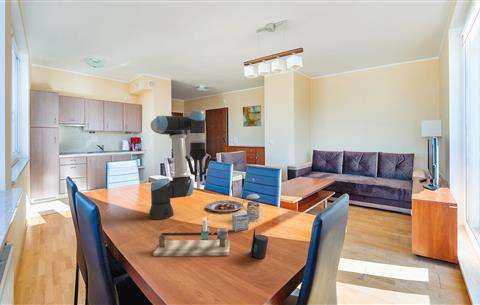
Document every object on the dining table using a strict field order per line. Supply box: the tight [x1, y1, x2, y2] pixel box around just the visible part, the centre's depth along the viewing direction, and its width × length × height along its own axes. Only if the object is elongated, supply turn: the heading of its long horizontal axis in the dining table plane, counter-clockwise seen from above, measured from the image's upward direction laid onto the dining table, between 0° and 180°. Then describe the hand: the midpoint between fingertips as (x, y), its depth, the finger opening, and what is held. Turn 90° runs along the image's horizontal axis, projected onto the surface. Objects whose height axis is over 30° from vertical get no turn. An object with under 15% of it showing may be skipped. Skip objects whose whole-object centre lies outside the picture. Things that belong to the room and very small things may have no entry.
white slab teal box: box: [200, 216, 210, 240], centre depth 107 cm, size 3×4×9 cm
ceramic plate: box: [206, 199, 244, 213], centre depth 169 cm, size 26×26×3 cm
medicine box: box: [231, 212, 250, 233], centre depth 129 cm, size 8×4×9 cm, turn 117°
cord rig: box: [153, 227, 231, 257], centre depth 108 cm, size 32×12×9 cm, turn 90°
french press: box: [241, 178, 262, 222], centre depth 146 cm, size 10×12×25 cm
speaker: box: [250, 228, 269, 260], centre depth 101 cm, size 8×6×10 cm
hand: (198, 188), depth 122 cm, fingers closed
